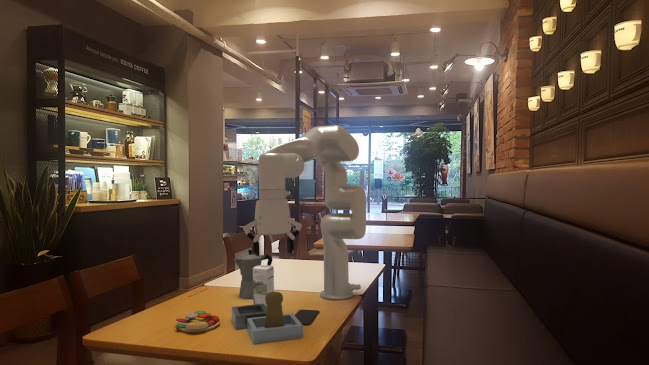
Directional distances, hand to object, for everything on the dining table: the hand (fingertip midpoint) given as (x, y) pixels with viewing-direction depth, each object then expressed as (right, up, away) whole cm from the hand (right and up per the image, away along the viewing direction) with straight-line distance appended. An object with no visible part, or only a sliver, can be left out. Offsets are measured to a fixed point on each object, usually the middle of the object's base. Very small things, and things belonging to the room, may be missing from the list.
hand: (273, 254), depth 128 cm
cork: (0, -22, 0) cm, 22 cm away
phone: (+8, -24, +15) cm, 29 cm away
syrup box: (-7, -23, +27) cm, 36 cm away
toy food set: (-24, -24, +8) cm, 35 cm away
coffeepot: (-13, -23, +43) cm, 51 cm away
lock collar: (-6, -23, +14) cm, 28 cm away
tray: (0, -23, 0) cm, 23 cm away
